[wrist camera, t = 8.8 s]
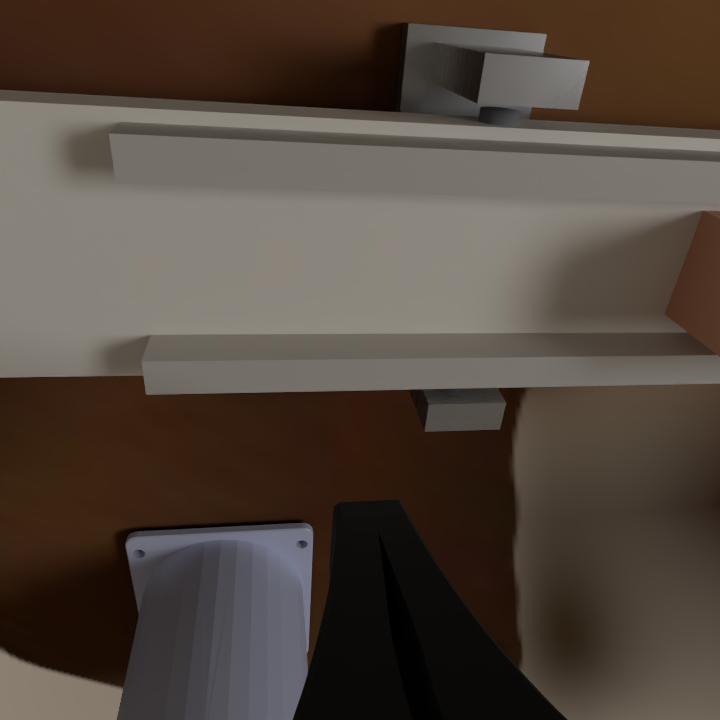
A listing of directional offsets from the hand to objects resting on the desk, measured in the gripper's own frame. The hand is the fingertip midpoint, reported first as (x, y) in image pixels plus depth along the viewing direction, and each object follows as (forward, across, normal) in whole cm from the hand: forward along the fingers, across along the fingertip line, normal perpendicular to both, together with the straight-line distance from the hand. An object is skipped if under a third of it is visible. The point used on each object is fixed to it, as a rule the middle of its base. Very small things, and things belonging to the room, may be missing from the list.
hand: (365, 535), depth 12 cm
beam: (+8, -1, -3) cm, 9 cm away
